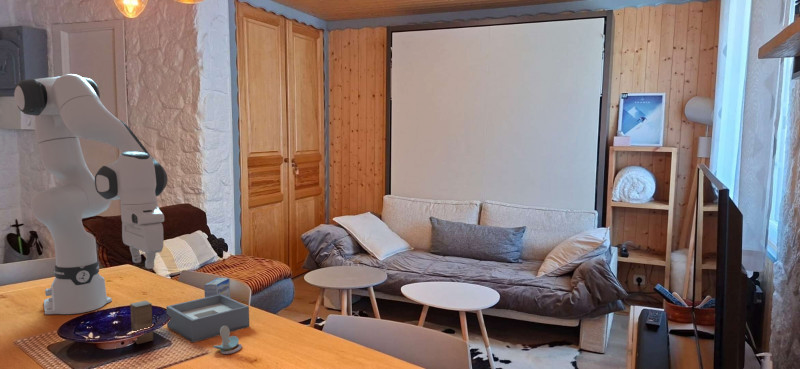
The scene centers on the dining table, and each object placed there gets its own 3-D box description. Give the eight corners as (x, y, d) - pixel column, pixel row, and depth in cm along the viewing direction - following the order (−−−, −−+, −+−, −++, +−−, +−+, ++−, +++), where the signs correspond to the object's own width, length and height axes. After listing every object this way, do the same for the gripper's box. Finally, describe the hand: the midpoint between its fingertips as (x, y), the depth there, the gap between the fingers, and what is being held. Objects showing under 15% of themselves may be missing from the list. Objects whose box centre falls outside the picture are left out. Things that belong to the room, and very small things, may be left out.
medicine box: (217, 312, 170) (217, 284, 169) (204, 311, 171) (203, 284, 170) (230, 304, 178) (229, 278, 177) (218, 303, 179) (217, 277, 178)
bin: (167, 326, 158) (166, 306, 157) (221, 313, 169) (220, 294, 169) (192, 342, 146) (192, 320, 145) (249, 326, 157) (248, 306, 157)
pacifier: (247, 347, 143) (228, 343, 146) (247, 324, 143) (228, 320, 145) (228, 358, 137) (209, 353, 139) (228, 333, 136) (209, 329, 138)
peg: (132, 340, 148) (130, 303, 147) (147, 336, 150) (145, 300, 149) (137, 344, 145) (135, 307, 144) (153, 340, 148) (151, 303, 147)
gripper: (114, 211, 150) (117, 261, 151) (140, 218, 135) (144, 274, 137) (138, 208, 154) (141, 257, 156) (166, 215, 140) (170, 269, 141)
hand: (143, 265), depth 146 cm, fingers open, 8 cm apart
